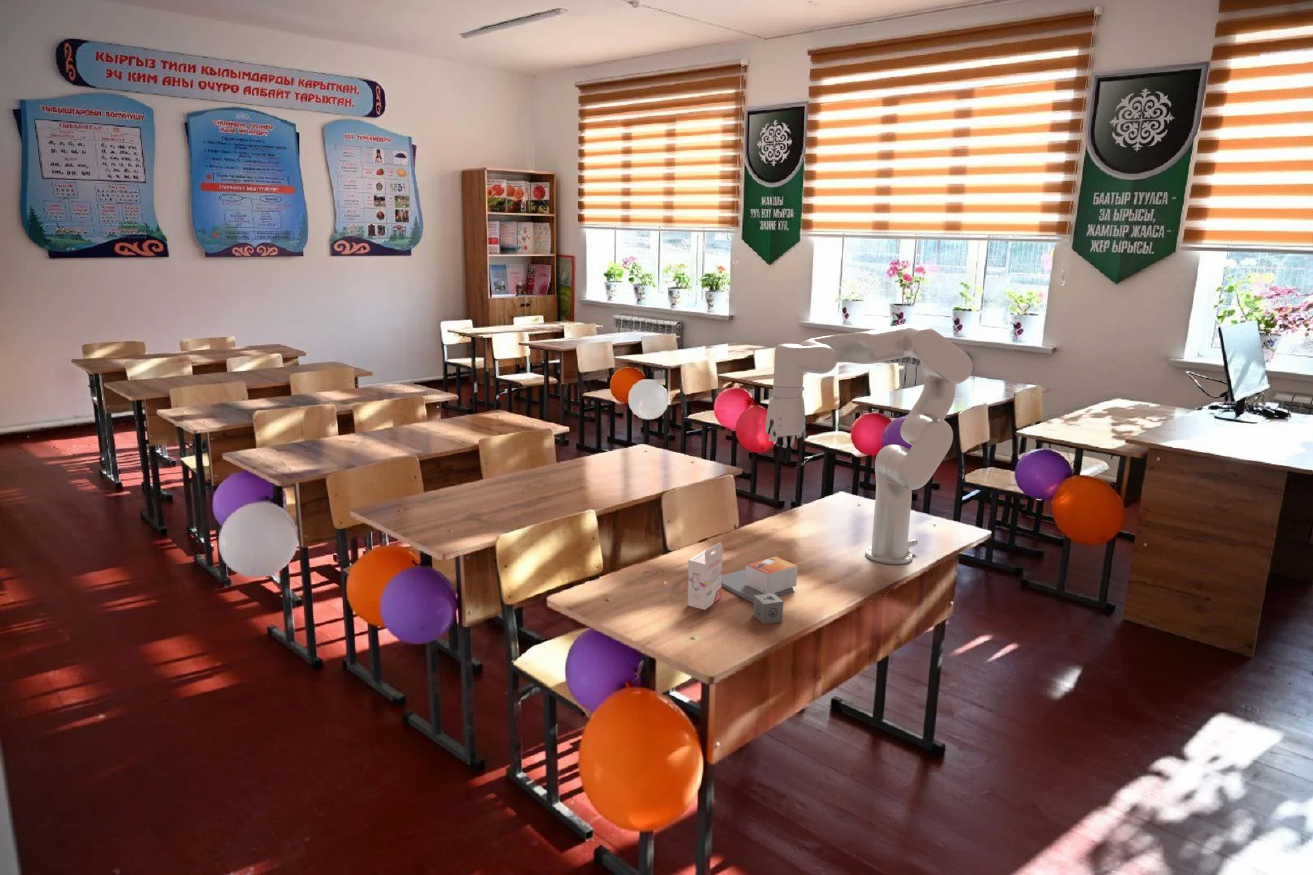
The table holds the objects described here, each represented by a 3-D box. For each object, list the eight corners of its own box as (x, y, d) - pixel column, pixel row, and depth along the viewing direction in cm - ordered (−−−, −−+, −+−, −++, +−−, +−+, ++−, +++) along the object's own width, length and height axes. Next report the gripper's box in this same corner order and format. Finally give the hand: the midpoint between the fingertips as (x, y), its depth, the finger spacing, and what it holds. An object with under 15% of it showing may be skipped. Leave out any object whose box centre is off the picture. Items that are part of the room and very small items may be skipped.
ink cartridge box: (703, 593, 213) (705, 537, 210) (721, 598, 211) (723, 541, 207) (686, 605, 206) (687, 547, 203) (704, 610, 204) (706, 551, 200)
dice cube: (782, 621, 199) (783, 601, 198) (762, 624, 197) (763, 604, 196) (772, 612, 203) (773, 592, 202) (752, 615, 202) (753, 595, 200)
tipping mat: (751, 571, 228) (751, 567, 228) (793, 591, 215) (793, 588, 215) (712, 581, 221) (712, 577, 221) (753, 603, 208) (753, 599, 208)
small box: (798, 565, 215) (768, 574, 209) (797, 586, 216) (767, 596, 210) (775, 555, 221) (745, 564, 215) (774, 576, 222) (744, 585, 216)
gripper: (798, 387, 229) (795, 454, 233) (756, 392, 221) (753, 462, 225) (819, 391, 223) (815, 460, 227) (775, 397, 215) (772, 468, 219)
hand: (784, 461), depth 226 cm, fingers closed
